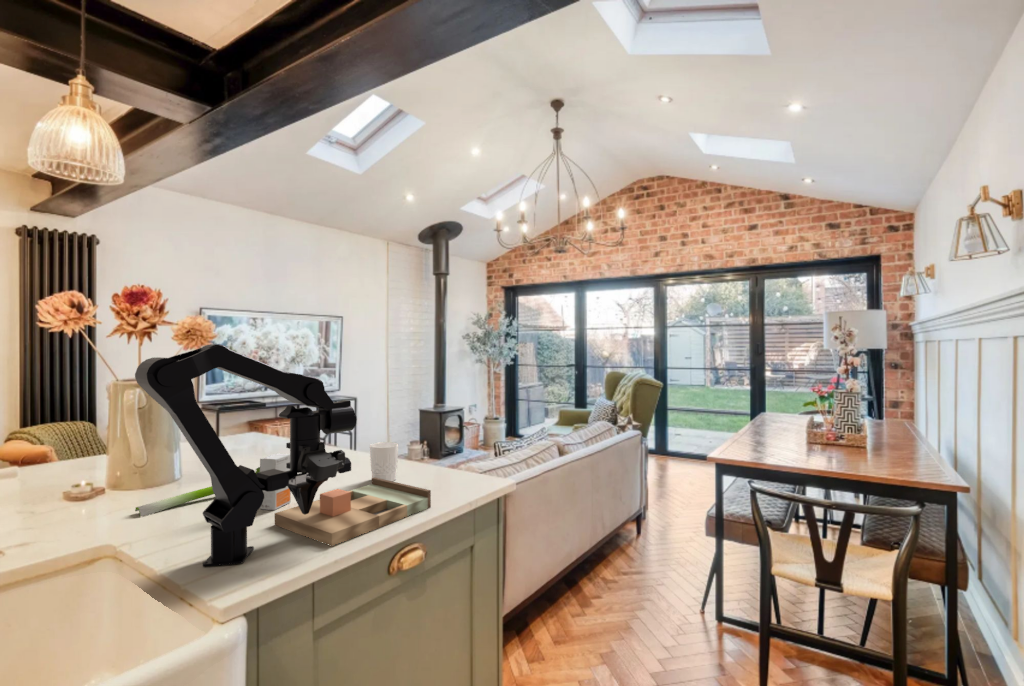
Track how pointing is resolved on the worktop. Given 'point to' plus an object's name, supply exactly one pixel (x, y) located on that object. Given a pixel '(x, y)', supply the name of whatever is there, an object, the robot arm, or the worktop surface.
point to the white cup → (384, 460)
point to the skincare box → (282, 495)
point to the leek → (176, 500)
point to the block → (335, 502)
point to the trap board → (357, 512)
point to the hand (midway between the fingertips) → (305, 513)
